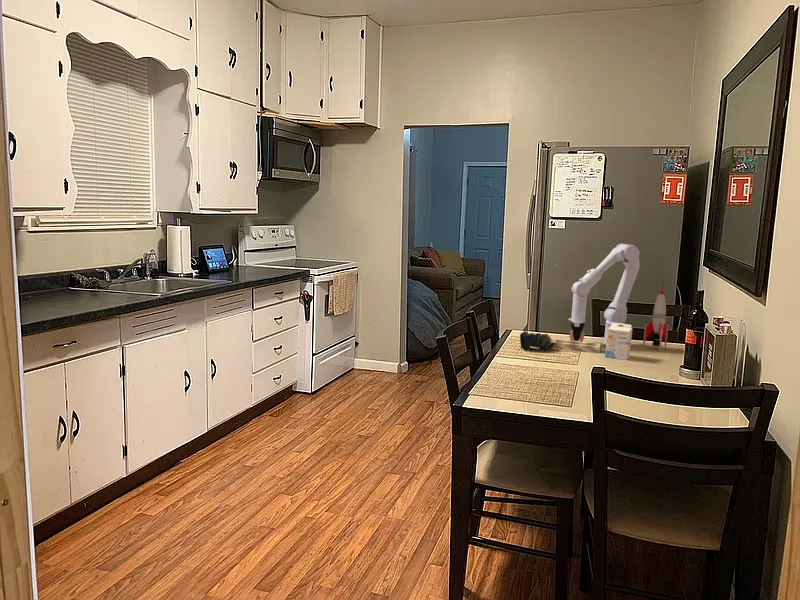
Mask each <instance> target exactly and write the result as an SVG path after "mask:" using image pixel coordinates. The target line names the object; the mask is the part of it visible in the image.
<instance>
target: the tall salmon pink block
mask: <svg viewBox="0 0 800 600" xmlns="http://www.w3.org/2000/svg"><path fill="white" fill-rule="evenodd" d="M584 339H585V331H582V332H581V335H580V339H579V342H584ZM569 341H574V338H573V331H572V330H569Z"/></svg>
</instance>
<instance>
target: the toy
mask: <svg viewBox="0 0 800 600" xmlns="http://www.w3.org/2000/svg"><path fill="white" fill-rule="evenodd" d="M663 283H664V281H662V284H661V286H663ZM654 302H655V303H654V307H653V312H652V320H651V321H650V322H648V324H647V321H648V320H645V324H644V331H643V334H644V335H643V343H642V346H643V347H645V345H646V341H647V339H648V338H649V336H650V335H651V334H652V338H653V339H654V340H653V341H652V344H651V345H652V346H654V347H659V349H658V352H661V351H662V343H663V342H662V341H663V340H664V348H667V343H668V332H669V321H667V324H666V315H667V304H666V302H667V301H666V296H665V292H664V291H663V289H661V290H660V291H659V292H658V294H657V296H656V299H655V301H654Z"/></svg>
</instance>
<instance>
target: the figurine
mask: <svg viewBox="0 0 800 600" xmlns="http://www.w3.org/2000/svg"><path fill="white" fill-rule="evenodd" d="M519 335H520V339H519V340H520V341H519V342H520V348H522V349H523V350H525V352H527V351H530V350H531V349H530V348H534V347H535V348H537V349H538V348H539V349H540V350H545V349H547V350H551V349H553V348H552V347H553V346H554V342H552V343H551V341H552V338H551V335H549V334H548V333H541V332H537V333H534V332H530V333H529V332H528V330H527V331H526V330H524V331H522V333H521V332H520V334H519Z"/></svg>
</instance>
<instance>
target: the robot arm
mask: <svg viewBox="0 0 800 600" xmlns="http://www.w3.org/2000/svg"><path fill="white" fill-rule="evenodd" d="M640 254H641V253H640V250H639V249H638V247H637V246H636V245H634V244H626V243H618V244H617V245H616V246H615V247H614V248H612V250H611V251H610V252H609V253H608V255H607V256H605V258H604V259H603V260H602V261H601V262H600V264H598V266H596V268H591V269H588V270H587V271H586V274H584V276H583V277H581V278H579V279H578V281H576V282H574V283H572V286H571V291H572V293H573V294H572V308H571V318H570V317H569V318H568V321H570V322H571V324H570V328H571V331H573V338H574V339H573V341H578V342H580V335H581V332H583V329H584V328H585V325H586V324H585V323H586V312H587V299H588V295H589V294H590V292H591V289H592V288H593V287H594V286H595V285H596V284H597V283H598V282H599V281H600V280H601V279H602V274H603V273H604V272H606V271H607V270H608V269H609V268H610V267H612V265H614V264H615V263H616V262H617V263H618V262H622V264H623V265H624V267H625V268H624V270H623V274H622V277H621V279H620V282H619V284H618V287H617V290H616V292H615V296H614V299H613V301H611V303H609V305H608V307H607V308H606V309H605V310H604V312H603V318H604V320H605V329H604V336H603V337H604V338H603V340H602V345H604V346H606V343H607V333H608V328H609V327H610V326H611V323H612V322H613V323H621V324H626V321H627V313H628V307H627V303H628V300H629V298H630V295H631V291H632V288H633V286H634V283H635V281H636V279H637V278H636V277H637V275H638V273H639V270H640V267H641V265H640ZM618 326H620V327H624V326H623V325H618Z"/></svg>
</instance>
